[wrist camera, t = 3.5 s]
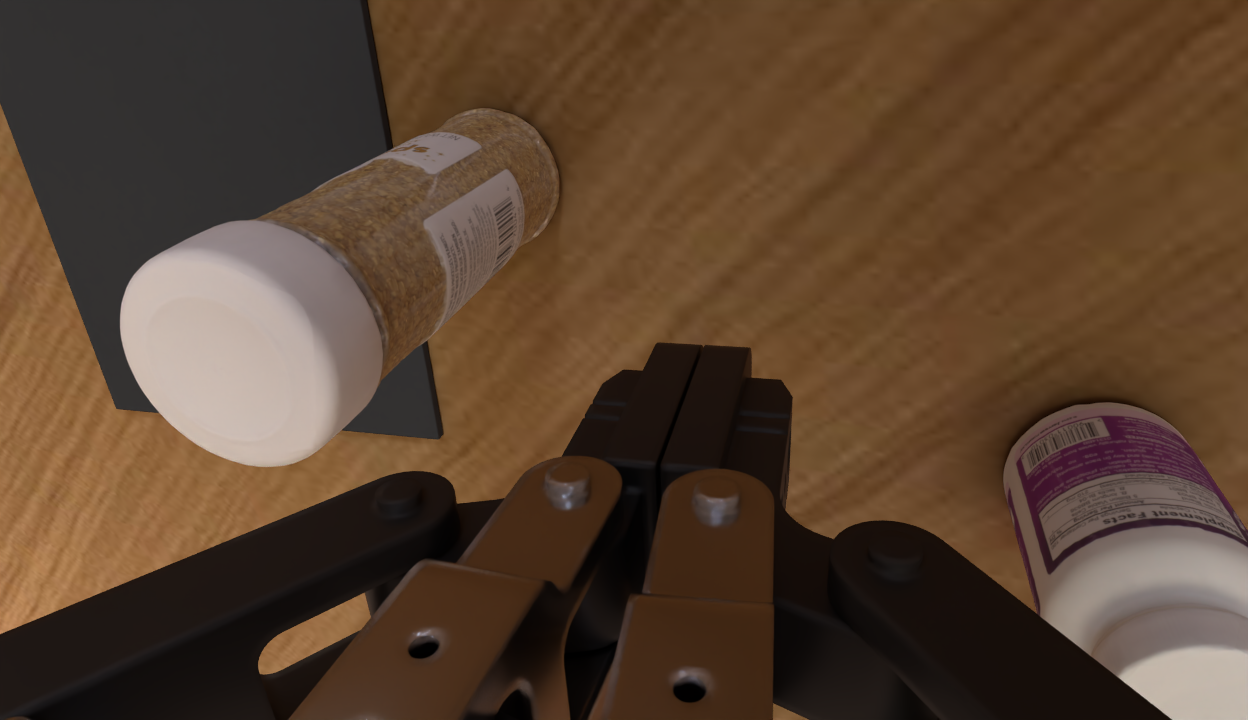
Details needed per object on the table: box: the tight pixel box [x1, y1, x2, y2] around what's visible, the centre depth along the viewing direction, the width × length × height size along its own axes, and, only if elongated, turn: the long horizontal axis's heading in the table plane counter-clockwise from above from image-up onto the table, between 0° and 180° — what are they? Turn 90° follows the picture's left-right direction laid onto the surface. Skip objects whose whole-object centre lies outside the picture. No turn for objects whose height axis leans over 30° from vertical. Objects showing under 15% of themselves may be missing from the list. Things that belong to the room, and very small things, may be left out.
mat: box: [0, 0, 443, 439], centre depth 29 cm, size 20×15×1 cm
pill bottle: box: [1003, 402, 1248, 720], centre depth 22 cm, size 5×5×10 cm
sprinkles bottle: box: [120, 108, 559, 467], centre depth 21 cm, size 5×5×14 cm
